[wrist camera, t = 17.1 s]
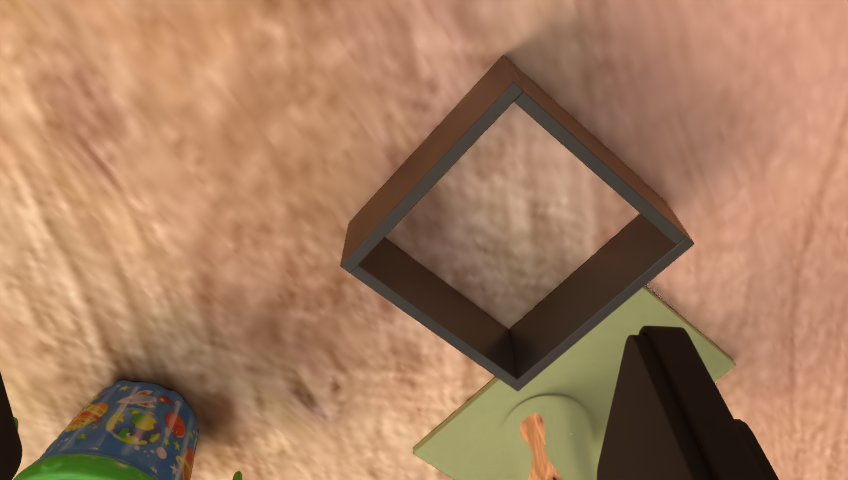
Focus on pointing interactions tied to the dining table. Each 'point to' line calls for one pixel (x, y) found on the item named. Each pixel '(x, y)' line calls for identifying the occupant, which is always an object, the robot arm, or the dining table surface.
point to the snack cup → (124, 438)
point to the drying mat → (555, 392)
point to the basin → (570, 302)
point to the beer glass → (551, 439)
